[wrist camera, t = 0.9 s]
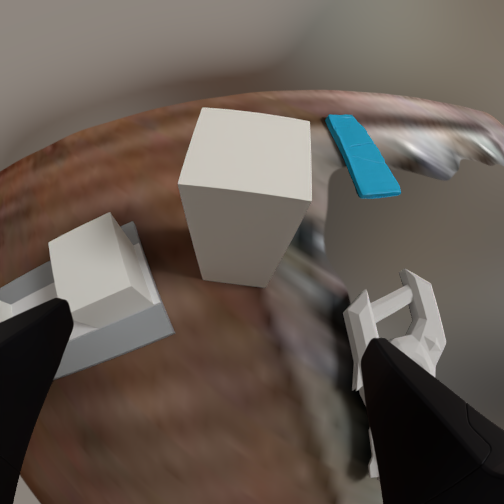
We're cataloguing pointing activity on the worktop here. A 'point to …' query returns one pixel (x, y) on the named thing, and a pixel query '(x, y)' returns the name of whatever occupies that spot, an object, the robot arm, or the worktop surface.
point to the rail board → (105, 337)
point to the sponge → (362, 158)
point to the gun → (412, 344)
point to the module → (245, 192)
